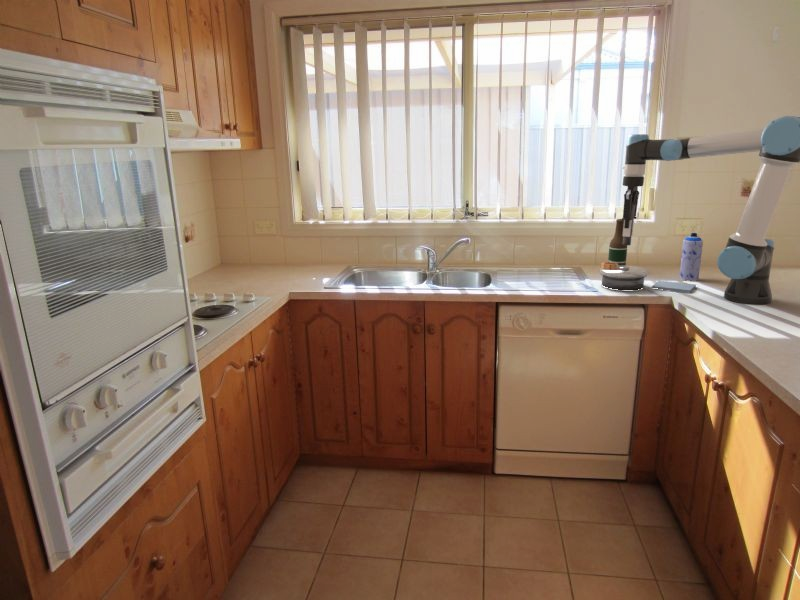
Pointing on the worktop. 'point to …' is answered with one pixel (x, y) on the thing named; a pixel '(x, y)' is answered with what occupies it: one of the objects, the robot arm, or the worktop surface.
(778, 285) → the worktop surface
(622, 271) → the disc
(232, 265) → the worktop surface
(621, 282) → the cylinder
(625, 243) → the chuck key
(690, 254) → the aerosol can
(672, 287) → the plate
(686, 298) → the worktop surface
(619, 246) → the beer bottle
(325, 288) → the worktop surface
